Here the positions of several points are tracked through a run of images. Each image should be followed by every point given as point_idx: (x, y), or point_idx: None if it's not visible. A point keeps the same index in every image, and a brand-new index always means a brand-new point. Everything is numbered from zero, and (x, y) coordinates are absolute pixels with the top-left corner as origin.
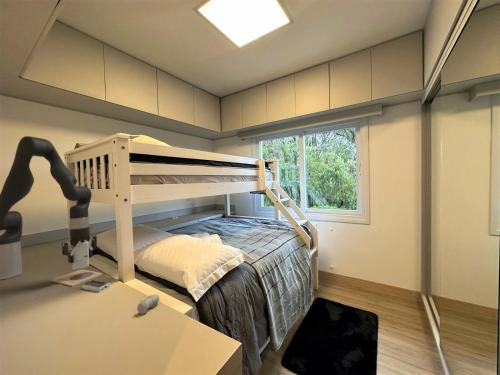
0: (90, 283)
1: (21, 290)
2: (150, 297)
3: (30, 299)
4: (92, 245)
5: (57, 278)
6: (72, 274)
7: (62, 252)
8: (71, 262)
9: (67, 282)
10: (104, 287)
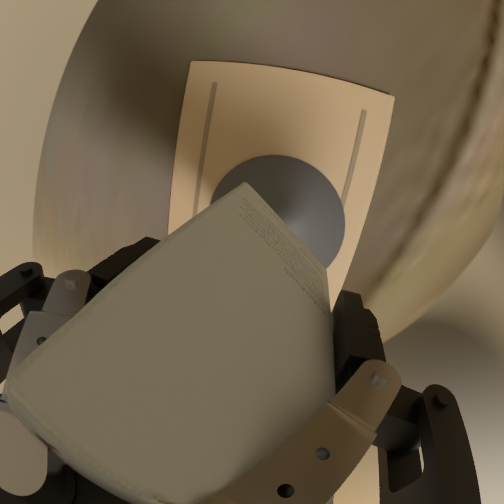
0: None
1: (100, 57)
2: None
3: (69, 209)
4: (423, 428)
5: (215, 77)
6: (293, 115)
7: (2, 279)
8: None
9: (180, 223)
10: None
